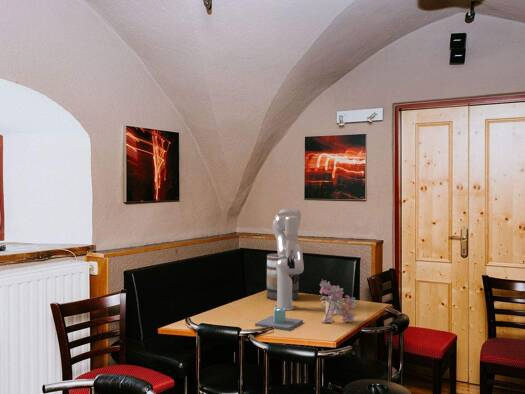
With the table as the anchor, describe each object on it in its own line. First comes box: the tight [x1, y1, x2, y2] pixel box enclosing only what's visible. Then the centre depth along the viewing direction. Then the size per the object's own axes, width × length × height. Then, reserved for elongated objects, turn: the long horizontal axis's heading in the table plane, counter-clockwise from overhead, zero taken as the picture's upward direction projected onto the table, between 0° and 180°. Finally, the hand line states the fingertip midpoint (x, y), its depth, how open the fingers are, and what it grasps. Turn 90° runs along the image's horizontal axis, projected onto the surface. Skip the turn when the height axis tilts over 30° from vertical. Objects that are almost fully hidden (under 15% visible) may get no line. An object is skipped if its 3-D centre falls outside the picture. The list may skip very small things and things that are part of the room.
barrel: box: [266, 252, 300, 302], centre depth 358 cm, size 22×22×30 cm
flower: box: [319, 278, 357, 324], centre depth 290 cm, size 20×22×25 cm
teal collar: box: [273, 307, 286, 323], centre depth 284 cm, size 6×6×7 cm
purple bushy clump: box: [320, 295, 338, 316], centre depth 313 cm, size 12×9×12 cm
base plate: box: [254, 315, 304, 332], centre depth 284 cm, size 20×20×2 cm
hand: (290, 267), depth 295 cm, fingers open, 9 cm apart
